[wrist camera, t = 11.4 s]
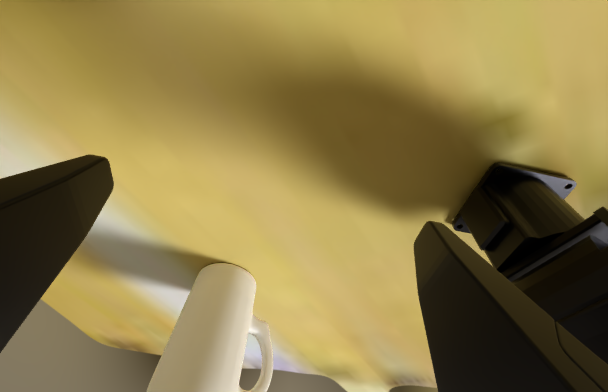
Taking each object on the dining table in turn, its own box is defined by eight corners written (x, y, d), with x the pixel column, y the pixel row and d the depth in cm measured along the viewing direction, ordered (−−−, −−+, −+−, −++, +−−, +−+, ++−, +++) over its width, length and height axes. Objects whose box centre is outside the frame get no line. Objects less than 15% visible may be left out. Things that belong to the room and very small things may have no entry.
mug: (185, 284, 33) (128, 414, 23) (211, 250, 29) (157, 387, 20) (264, 317, 36) (243, 444, 26) (296, 291, 32) (285, 426, 23)
